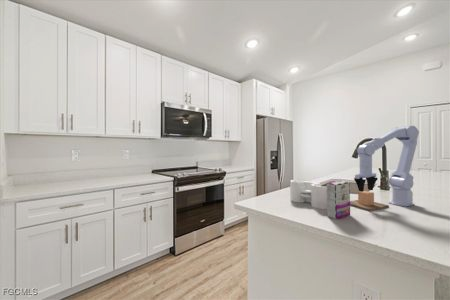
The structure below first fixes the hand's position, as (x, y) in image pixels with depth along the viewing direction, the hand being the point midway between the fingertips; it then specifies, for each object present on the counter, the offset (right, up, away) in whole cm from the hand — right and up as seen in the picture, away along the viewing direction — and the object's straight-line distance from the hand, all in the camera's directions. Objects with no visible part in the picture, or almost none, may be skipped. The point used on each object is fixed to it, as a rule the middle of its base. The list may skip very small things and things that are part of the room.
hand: (365, 190), depth 113 cm
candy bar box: (-24, -9, -15) cm, 30 cm away
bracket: (-29, -9, +6) cm, 31 cm away
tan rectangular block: (0, -7, 0) cm, 7 cm away
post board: (0, -8, 0) cm, 8 cm away
